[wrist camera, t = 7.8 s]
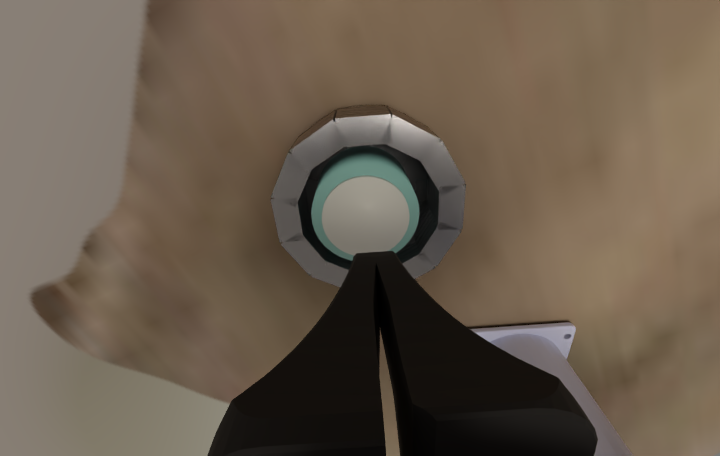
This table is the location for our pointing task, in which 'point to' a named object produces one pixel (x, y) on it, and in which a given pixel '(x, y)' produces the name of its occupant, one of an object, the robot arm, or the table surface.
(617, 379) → the table surface
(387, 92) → the table surface
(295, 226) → the faceted ring bowl
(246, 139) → the table surface
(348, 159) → the cap
